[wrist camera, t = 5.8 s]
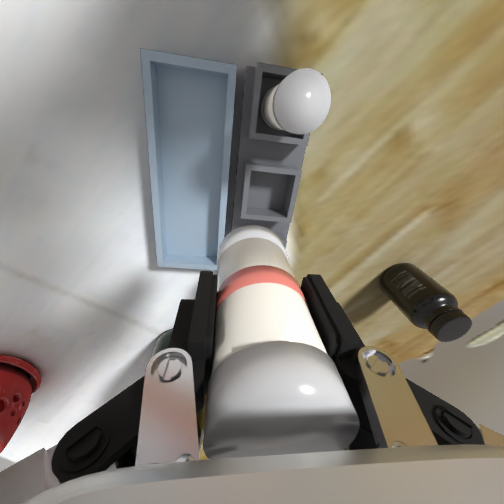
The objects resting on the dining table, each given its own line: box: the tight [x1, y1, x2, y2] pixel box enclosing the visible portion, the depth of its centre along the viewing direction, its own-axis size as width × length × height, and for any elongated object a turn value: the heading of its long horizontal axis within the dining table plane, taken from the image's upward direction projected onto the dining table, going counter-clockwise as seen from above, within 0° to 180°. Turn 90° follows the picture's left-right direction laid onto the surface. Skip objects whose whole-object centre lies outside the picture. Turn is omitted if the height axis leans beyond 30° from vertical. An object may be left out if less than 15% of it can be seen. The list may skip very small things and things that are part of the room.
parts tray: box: [140, 48, 237, 270], centre depth 29 cm, size 24×9×3 cm, turn 173°
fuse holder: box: [231, 62, 323, 248], centre depth 30 cm, size 25×8×4 cm, turn 173°
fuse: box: [260, 68, 331, 134], centre depth 22 cm, size 4×4×10 cm
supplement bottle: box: [380, 263, 472, 342], centre depth 37 cm, size 7×7×12 cm
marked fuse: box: [203, 225, 360, 460], centre depth 11 cm, size 4×4×10 cm
